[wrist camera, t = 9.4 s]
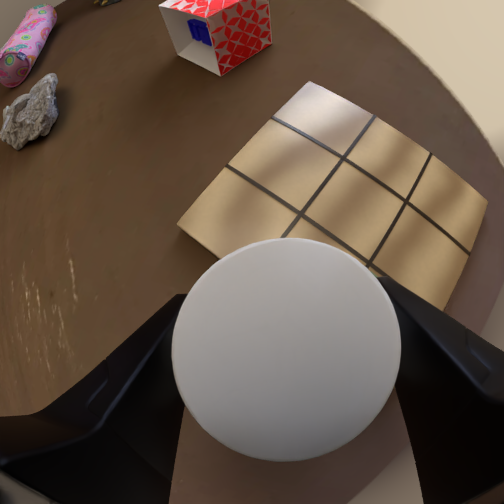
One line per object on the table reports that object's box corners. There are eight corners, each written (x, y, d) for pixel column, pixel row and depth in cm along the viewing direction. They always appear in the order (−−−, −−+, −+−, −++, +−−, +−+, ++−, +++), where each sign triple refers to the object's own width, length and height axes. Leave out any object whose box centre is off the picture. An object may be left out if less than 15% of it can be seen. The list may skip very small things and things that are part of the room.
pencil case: (37, 75, 33) (11, 44, 25) (4, 97, 34) (-22, 71, 25) (66, 20, 39) (49, -6, 30) (35, 38, 39) (18, 15, 30)
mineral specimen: (63, 138, 28) (0, 166, 28) (80, 82, 31) (20, 110, 31) (39, 108, 23) (-24, 144, 22) (64, 54, 26) (1, 88, 25)
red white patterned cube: (272, 43, 28) (267, -12, 20) (221, 76, 27) (205, 18, 19) (225, 25, 30) (215, -23, 22) (177, 54, 29) (157, 5, 21)
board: (481, 206, 21) (489, 201, 20) (389, 385, 19) (395, 388, 17) (308, 89, 25) (309, 79, 24) (180, 229, 23) (175, 223, 22)
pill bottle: (224, 289, 16) (141, 227, 6) (330, 275, 15) (397, 194, 6) (235, 395, 14) (168, 481, 5) (343, 381, 14) (429, 449, 4)
